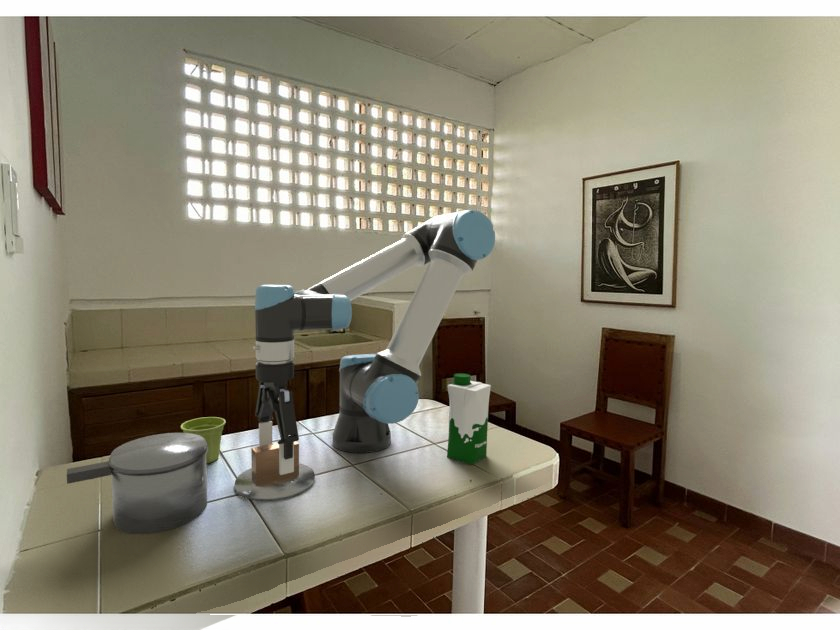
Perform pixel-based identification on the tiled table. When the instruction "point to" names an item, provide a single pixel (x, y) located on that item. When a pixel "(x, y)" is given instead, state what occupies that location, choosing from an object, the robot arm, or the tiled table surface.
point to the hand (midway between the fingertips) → (275, 461)
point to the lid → (273, 476)
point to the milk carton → (468, 419)
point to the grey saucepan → (154, 481)
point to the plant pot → (207, 433)
